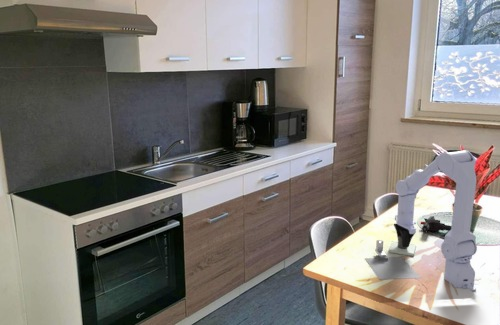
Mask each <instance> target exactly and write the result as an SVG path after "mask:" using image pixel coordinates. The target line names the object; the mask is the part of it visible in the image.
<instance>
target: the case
mask: <svg viewBox="0 0 500 325" xmlns="http://www.w3.org/2000/svg"><path fill="white" fill-rule="evenodd" d="M364 261H366V262H367V264H368V266H369V267H370V268H371V269H372V271H373V272H374V274H375V275H376V277H377V278H378V280H381V281H383V280H402V279H403V280H405V279H406V280H407V279H422V278H421V276H420V275H419V273H417V271H415V270H414V268H413V267H411V265H410V264H409V263H408V262H407V261H406V259H404V257H403V256H393V257H392V256H389V257H388V256H387V255H386V257H382V258H380V256H379V255H378V254H377V255H375V257H369V258H364Z"/></svg>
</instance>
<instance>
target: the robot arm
mask: <svg viewBox="0 0 500 325" xmlns="http://www.w3.org/2000/svg"><path fill="white" fill-rule="evenodd" d="M476 161H477V160H476V158H475V156H474V155H473V154H472V153H471V152H470V151H469V150H467V149H463V150H458V151H451V152H442V153H440V154H439V155H437V156H435V159H434V160H433V161H431V163H429V164H428V165H427V166H425V168H424V169H414V170H413V171H412V172H413V173H412V174H410V175H407V176H406V177H405V179H400V180H399V179H398V181H396V184H395V191H396V193H397V195H398V199H397V200H398V201H397V202H398V203H397V214H395V215H394V221H395V222H396V223H394V224H393V227H394V228H395V232H396V238H398V236H402V245H403V247H409V244H411V241H412V239H413V237H414V236H415V235H416V233H417V229H416V228H415V225H416V224H417V222H416V221H415V220H414V215H415V199H417V194H418V193H419V192H420V189H422V188H423V187H425V185H427V184H428V183H429V182H430V180H431V179H430V178H431V177H433V176H435V175H437V173H440V172H442V173H443V174H444V175H446V176H447V177H448V178H449V179H451V180H452V181H454V183H455V193H454V200H453V210H452V211H453V212H452V219H451V225H450V226H451V230H450V231H447V232H446V234H445V236H444V239H443V242H442V243H441V245H440V250H441V253H442V255H443V257H444V259H445V266H444V273H443V274H444V277H443V278H444V280H445V281H446V282H448V283H449V284H451V285H452V286H453V287H454V288H455V289H460V288H461V289H463V288H464V289H469V290H470V291H477V289H476V287H475V277H476V271H475V269H474V268H473V266H472V265H471V260H472V259H473V256H475V255H476V253H477V251H478V247H477V246H478V245H477V243H476V239H477V238H476V237H477V236H476V235H475V234H474V233H473V232H472V231H471V227H472V226H471V225H472V218H473V211H474V204H475V195H476V189H477V188H476V187H477V175H476V170H475V169H476Z"/></svg>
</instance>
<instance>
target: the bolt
mask: <svg viewBox="0 0 500 325" xmlns="http://www.w3.org/2000/svg"><path fill="white" fill-rule="evenodd" d="M375 245H376V247H375V250H374V251H375V253H376V254H377V255H379V256H380V258H382V257H386V256H387V254H386V253H385V251H383V250H384V240H382V239H381V240H380V239H378V240H376V244H375Z"/></svg>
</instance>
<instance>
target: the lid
mask: <svg viewBox="0 0 500 325" xmlns="http://www.w3.org/2000/svg"><path fill="white" fill-rule="evenodd" d="M416 248H417V244H413V243H410V244H409V247H403V245H402V236H398V237H397V241H395V240H392V241H391V243H390V245H389V247H388V253H392V254H399V255H403V256H409V257H414V256H415V253H416Z"/></svg>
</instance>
